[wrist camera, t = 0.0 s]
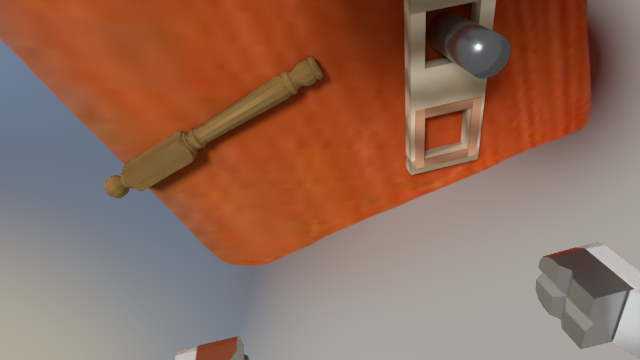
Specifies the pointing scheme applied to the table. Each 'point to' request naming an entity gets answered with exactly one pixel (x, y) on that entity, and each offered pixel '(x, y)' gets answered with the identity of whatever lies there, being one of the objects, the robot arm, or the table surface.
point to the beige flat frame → (440, 89)
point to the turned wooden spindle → (208, 131)
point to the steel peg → (469, 44)
